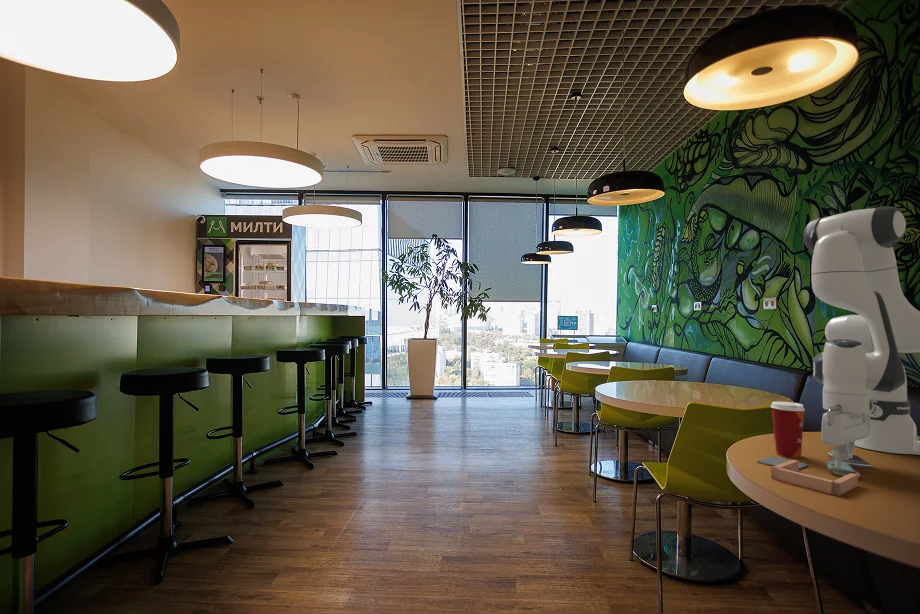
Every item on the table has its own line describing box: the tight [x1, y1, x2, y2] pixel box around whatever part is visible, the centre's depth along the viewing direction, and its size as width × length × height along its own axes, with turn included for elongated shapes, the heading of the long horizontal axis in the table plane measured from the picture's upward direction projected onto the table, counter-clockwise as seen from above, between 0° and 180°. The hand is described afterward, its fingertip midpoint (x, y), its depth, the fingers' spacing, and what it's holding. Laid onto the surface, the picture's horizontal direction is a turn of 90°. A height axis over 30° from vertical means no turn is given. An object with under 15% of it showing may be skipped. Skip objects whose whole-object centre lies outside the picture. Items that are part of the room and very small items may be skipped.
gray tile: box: [757, 455, 809, 471], centre depth 113 cm, size 8×8×1 cm
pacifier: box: [826, 446, 861, 478], centre depth 106 cm, size 7×6×6 cm
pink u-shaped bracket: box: [770, 459, 859, 497], centre depth 101 cm, size 11×12×2 cm
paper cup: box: [770, 401, 806, 459], centre depth 122 cm, size 8×8×14 cm
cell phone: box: [827, 451, 873, 470], centre depth 116 cm, size 6×11×1 cm, turn 157°
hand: (846, 458), depth 112 cm, fingers closed
